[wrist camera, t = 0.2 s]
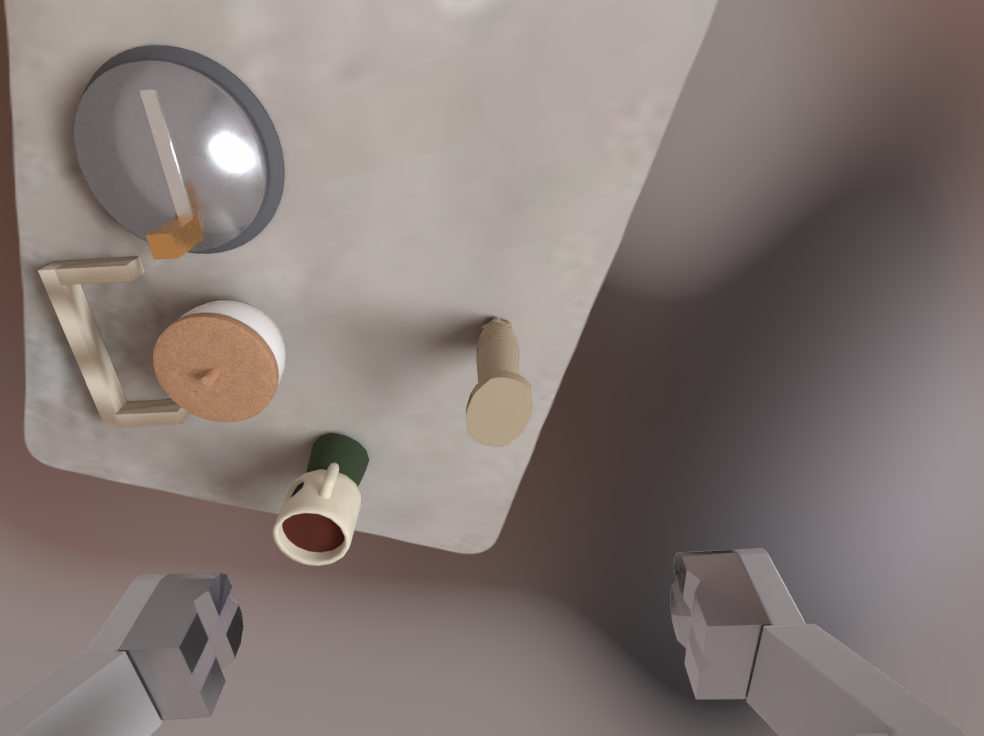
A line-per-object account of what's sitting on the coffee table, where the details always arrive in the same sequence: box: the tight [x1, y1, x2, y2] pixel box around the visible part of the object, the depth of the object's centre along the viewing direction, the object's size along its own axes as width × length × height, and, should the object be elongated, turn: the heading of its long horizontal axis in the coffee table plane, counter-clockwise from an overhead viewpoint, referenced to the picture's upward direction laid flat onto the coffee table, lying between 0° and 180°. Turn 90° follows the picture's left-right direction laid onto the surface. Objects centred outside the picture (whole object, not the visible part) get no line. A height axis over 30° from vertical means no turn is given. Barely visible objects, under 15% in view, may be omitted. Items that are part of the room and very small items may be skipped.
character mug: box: [273, 434, 369, 566], centre depth 63 cm, size 11×7×13 cm, turn 161°
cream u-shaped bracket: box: [38, 257, 190, 428], centre depth 60 cm, size 17×8×2 cm, turn 3°
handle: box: [466, 317, 533, 447], centre depth 54 cm, size 5×6×15 cm
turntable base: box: [85, 46, 284, 254], centre depth 53 cm, size 17×17×1 cm
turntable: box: [74, 60, 270, 259], centre depth 49 cm, size 15×15×7 cm
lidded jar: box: [153, 300, 286, 422], centre depth 57 cm, size 11×11×9 cm
